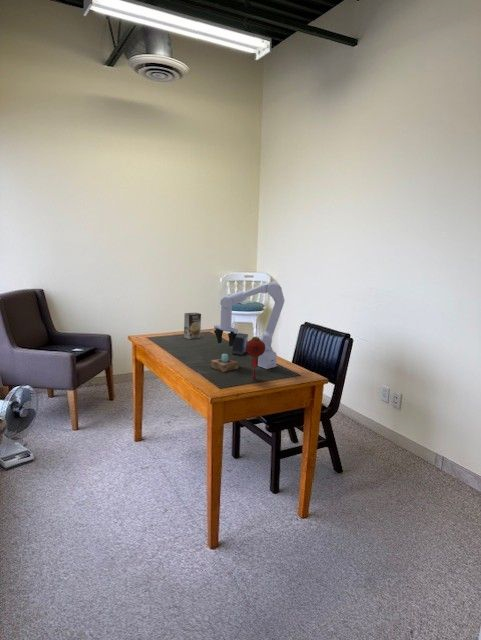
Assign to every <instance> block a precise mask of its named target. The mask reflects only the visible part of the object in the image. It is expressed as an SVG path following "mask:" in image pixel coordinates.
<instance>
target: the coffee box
mask: <svg viewBox="0 0 481 640" xmlns="http://www.w3.org/2000/svg"><path fill="white" fill-rule="evenodd" d="M183 319H184V324H183V326H184V327H183V338H185V339H187V340H193V339H200V338H201V331H202V314H201V313H199V312H185V313H184V317H183Z"/></svg>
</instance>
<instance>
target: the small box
mask: <svg viewBox="0 0 481 640" xmlns="http://www.w3.org/2000/svg"><path fill="white" fill-rule="evenodd" d="M248 341H249V334H248V333H247V334H246V333H242V332H241V333H240V332H238V333H237V335H236V337H235V339H234V342H233V346H232V351H231V354H232V355H238V356H243V355H244V354H246V353H247V351H246V344H247V342H248Z"/></svg>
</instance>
